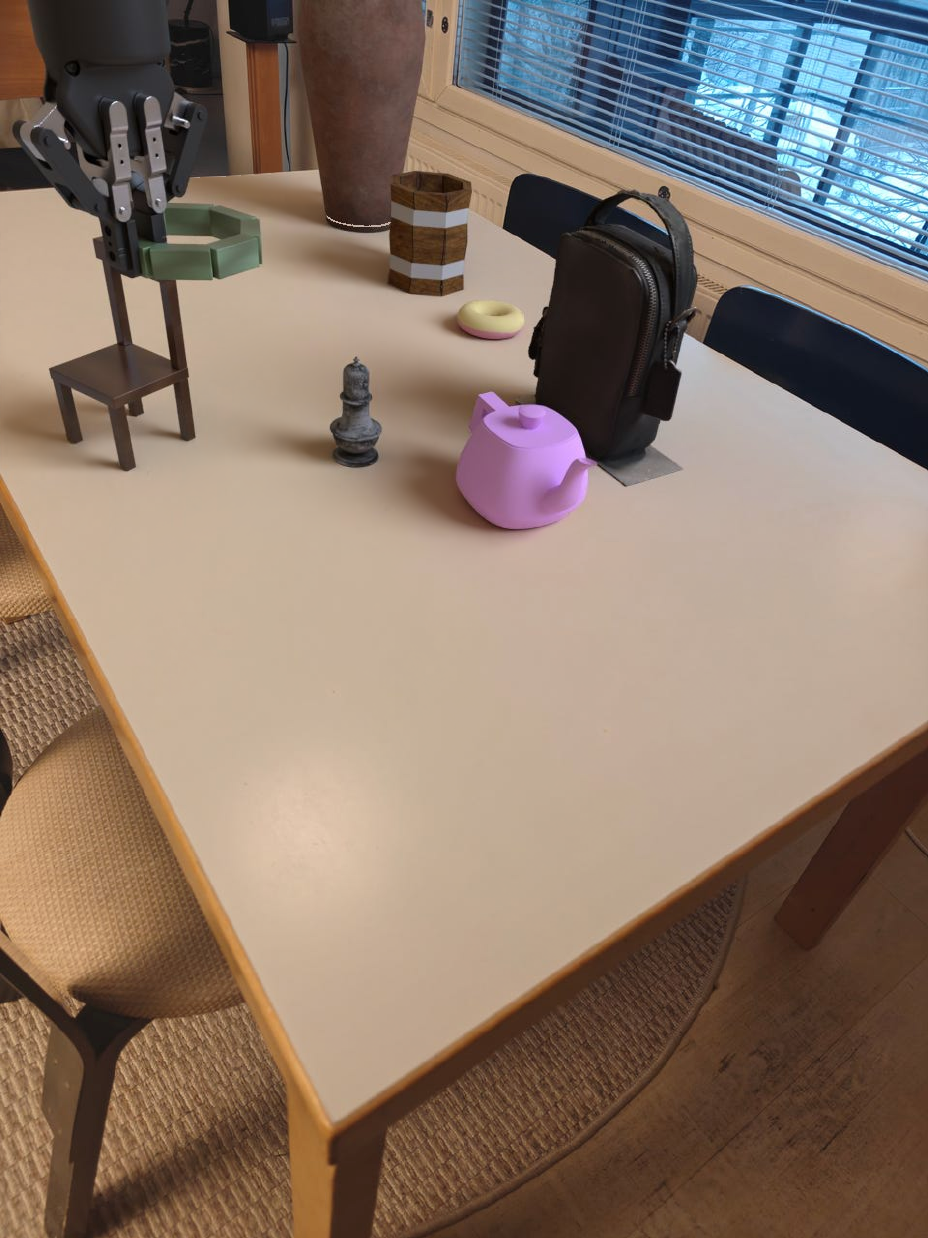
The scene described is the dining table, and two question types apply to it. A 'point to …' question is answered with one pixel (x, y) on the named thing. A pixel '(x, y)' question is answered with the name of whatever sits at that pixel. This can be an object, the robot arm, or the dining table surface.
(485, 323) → the donut
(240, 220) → the ring
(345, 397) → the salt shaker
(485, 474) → the teapot
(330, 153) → the vase
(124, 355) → the chair
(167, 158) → the robot arm
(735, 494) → the dining table surface
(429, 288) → the wooden barrel
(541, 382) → the shoulder bag
